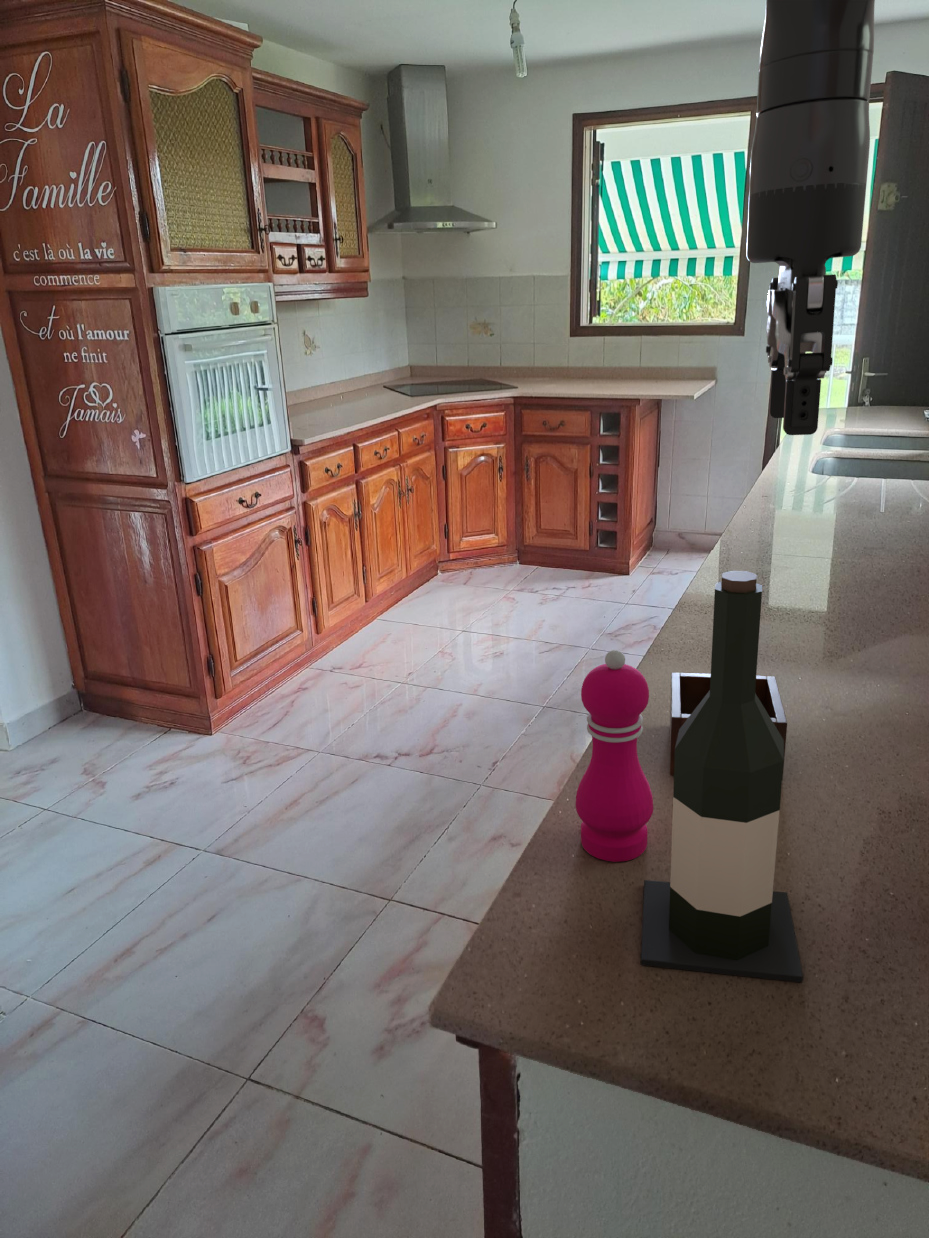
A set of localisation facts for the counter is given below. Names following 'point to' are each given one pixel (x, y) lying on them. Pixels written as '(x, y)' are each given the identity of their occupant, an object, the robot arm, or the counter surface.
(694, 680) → the box
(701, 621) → the counter surface
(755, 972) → the rubber mat
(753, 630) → the wine bottle
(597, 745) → the pepper mill
